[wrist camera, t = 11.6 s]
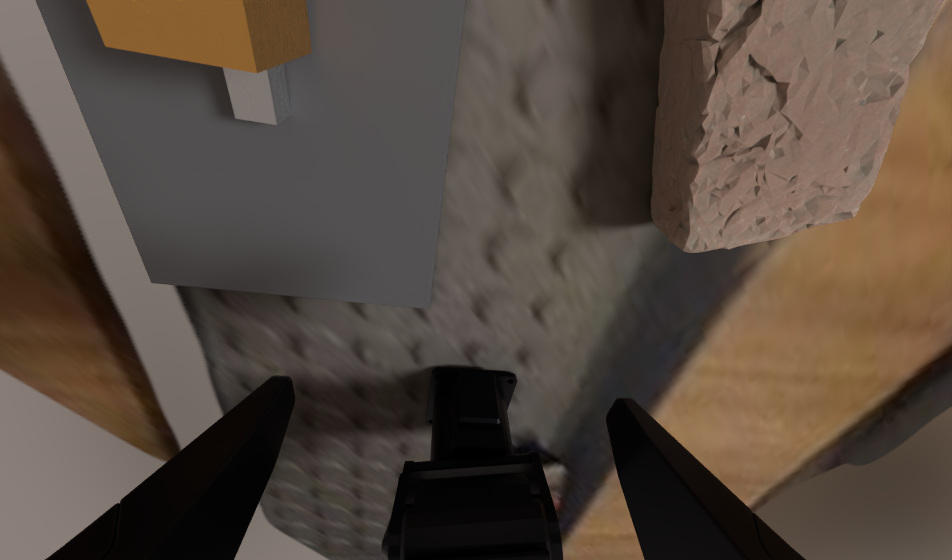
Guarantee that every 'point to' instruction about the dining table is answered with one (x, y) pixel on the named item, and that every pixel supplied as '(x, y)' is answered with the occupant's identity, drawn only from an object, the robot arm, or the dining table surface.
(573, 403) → the dining table surface
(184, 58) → the grey and orange frame
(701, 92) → the brick
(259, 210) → the plate
